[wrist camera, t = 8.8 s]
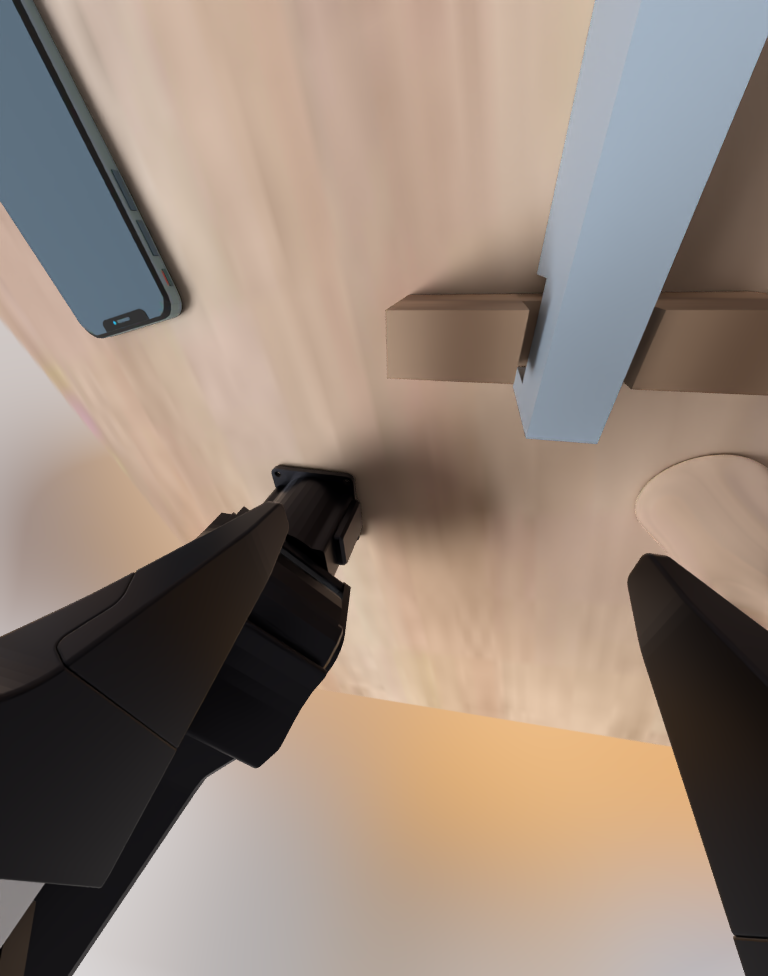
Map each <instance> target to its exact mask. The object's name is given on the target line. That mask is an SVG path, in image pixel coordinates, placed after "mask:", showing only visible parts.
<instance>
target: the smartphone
mask: <svg viewBox="0 0 768 976" xmlns="http://www.w3.org/2000/svg"><path fill="white" fill-rule="evenodd" d="M0 202H1V203H2V205H3V206H4V208H5V209H6V211H7V212H8V214H9V215H10V217H11V218H12V220H13V221H14V223H15V225H16V226H17V228H18V229H19V231H20V232H21V234H22V235H23V237H24V238H25V240H26V241H27V243H28V244H29V246H30V248H31V249H32V251H33V252H34V254H35V255H36V257H37V258H38V260H39V261H40V263H41V264H42V266H43V267H44V269H45V271H46V272H47V274H48V275H49V277H50V278H51V280H52V281H53V283H54V284H55V286H56V287H57V289H58V290H59V292H60V294H61V295H62V297H63V298H64V300H65V301H66V303H67V304H68V306H69V307H70V309H71V310H72V312H73V314H74V315H75V317H76V318H77V320H78V321H79V323H80V324H81V325H82V326H83V327H84V328H85V329H86V330H87V331H88V332H89V333H90V334H91V335H93V336H95V337H97V338H106V337H112V336H116V335H119V334H122V333H125V332H129V331H132V330H135V329H139V328H142V327H145V326H148V325H152V324H155V323H158V322H162V321H165V320H168V319H171V318H175V317H177V316H178V315H179V314H180V313H181V309H182V302H181V299H180V296H179V293H178V291H177V289H176V287H175V285H174V283H173V281H172V279H171V277H170V275H169V273H168V271H167V269H166V266H165V264H164V262H163V260H162V258H161V256H160V254H159V252H158V250H157V248H156V246H155V244H154V242H153V240H152V238H151V236H150V233H149V231H148V229H147V227H146V225H145V223H144V221H143V219H142V217H141V215H140V213H139V211H138V209H137V207H136V205H135V202H134V200H133V198H132V196H131V194H130V192H129V190H128V188H127V186H126V184H125V182H124V180H123V178H122V176H121V174H120V172H119V170H118V168H117V166H116V164H115V162H114V160H113V158H112V156H111V154H110V152H109V150H108V148H107V146H106V144H105V142H104V140H103V138H102V137H101V135H100V133H99V131H98V129H97V127H96V125H95V123H94V121H93V119H92V117H91V115H90V113H89V111H88V109H87V107H86V105H85V103H84V101H83V99H82V97H81V95H80V93H79V91H78V89H77V87H76V85H75V83H74V81H73V79H72V77H71V75H70V73H69V71H68V69H67V67H66V65H65V63H64V61H63V59H62V57H61V55H60V53H59V51H58V49H57V47H56V45H55V43H54V41H53V39H52V37H51V35H50V33H49V32H48V30H47V28H46V26H45V24H44V22H43V20H42V18H41V16H40V14H39V12H38V10H37V8H36V6H35V4H34V2H33V0H0Z"/></svg>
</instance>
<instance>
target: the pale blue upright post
mask: <svg viewBox="0 0 768 976" xmlns="http://www.w3.org/2000/svg"><path fill="white" fill-rule="evenodd" d="M767 36H768V0H595V4H594V8H593V13H592V18H591V22H590V27H589V32H588V37H587V41H586V46H585V51H584V55H583V60H582V65H581V69H580V74H579V79H578V83H577V88H576V93H575V98H574V102H573V107H572V112H571V116H570V121H569V126H568V130H567V135H566V140H565V144H564V149H563V154H562V159H561V163H560V168H559V173H558V177H557V182H556V187H555V191H554V196H553V201H552V205H551V210H550V215H549V220H548V224H547V229H546V234H545V238H544V243H543V248H542V252H541V257H540V262H539V266H538V271H537V274H538V275H540V276H543V277H545V278H547V279H546V284H545V288H544V292H543V297H542V301H541V305H540V310H539V314H538V318H537V323H536V327H535V331H534V336H533V340H532V344H531V349H530V353H529V357H528V362H527V366H526V367H517V371H516V376H515V381H514V384H513V389H514V393H515V397H516V401H517V405H518V409H519V413H520V417H521V421H522V425H523V429H524V433H525V437H526V438H527V439H540V440H553V441H566V442H578V443H591V444H597V443H598V441H599V438H600V436H601V434H602V431H603V429H604V426H605V424H606V422H607V419H608V417H609V414H610V412H611V410H612V407H613V405H614V402H615V400H616V398H617V395H618V393H619V390H620V388H621V386H622V383H623V381H624V379H625V376H626V374H627V371H628V369H629V367H630V364H631V362H632V359H633V357H634V355H635V352H636V350H637V347H638V345H639V343H640V340H641V338H642V335H643V333H644V331H645V328H646V326H647V323H648V321H649V319H650V316H651V314H652V311H653V309H654V307H655V304H656V302H657V300H658V297H659V295H660V292H661V290H662V288H663V285H664V283H665V280H666V278H667V276H668V273H669V271H670V268H671V266H672V264H673V261H674V259H675V256H676V254H677V252H678V249H679V247H680V244H681V242H682V240H683V237H684V235H685V233H686V230H687V228H688V225H689V223H690V221H691V218H692V216H693V213H694V211H695V209H696V206H697V204H698V201H699V199H700V197H701V194H702V192H703V189H704V187H705V185H706V182H707V180H708V177H709V175H710V173H711V170H712V168H713V165H714V163H715V161H716V158H717V156H718V154H719V151H720V149H721V146H722V144H723V142H724V139H725V137H726V134H727V132H728V130H729V127H730V125H731V122H732V120H733V118H734V115H735V113H736V110H737V108H738V106H739V103H740V101H741V98H742V96H743V94H744V91H745V89H746V87H747V84H748V82H749V79H750V77H751V75H752V72H753V70H754V67H755V65H756V63H757V60H758V58H759V55H760V53H761V51H762V48H763V46H764V43H765V41H766V39H767Z"/></svg>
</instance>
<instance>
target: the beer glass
mask: <svg viewBox="0 0 768 976" xmlns="http://www.w3.org/2000/svg"><path fill="white" fill-rule="evenodd" d="M635 514H636V518H637V520H638V522H639V523H640V525H641V526H642V527H643V528H644V530H645V531H646V532H647V533H648V534H649V535H650V536H651V537H652V538H653V539H654V540H655V541H656V542H657V543H658V544H659V545H660V546H661V547H662V548H663V549H664V551H665V552H666V553H667V555H668V556H669V557H670V558H672V559H673V560H674V561H676V562H677V563H678V564H680V565H681V566H682V567H684V568H685V569H686V570H688V571H689V572H690V573H692V574H693V575H694V576H696V577H697V578H698V579H700V580H701V581H702V582H704V583H705V584H706V585H708V586H709V587H710V588H712V589H713V590H714V591H716V592H717V593H718V594H720V595H721V596H722V597H724V598H725V599H726V600H728V601H729V602H730V603H732V604H733V605H734V606H736V607H737V608H738V609H740V610H741V611H742V612H744V613H745V614H746V615H748V616H749V617H750V618H752V619H753V620H754V621H756V622H757V623H758V624H760V625H761V626H762V627H764V628H765V629H766V630H768V469H767V468H766V467H765V466H764V465H762V464H761V463H759V462H757V461H755V460H753V459H750V458H747V457H743V456H738V455H728V454H719V455H708V456H702V457H697V458H693V459H690V460H687V461H684V462H681V463H678V464H676V465H674V466H672V467H670V468H668V469H666V470H664V471H662V472H661V473H659V474H658V475H656V476H655V477H654V478H652V479H651V480H650V481H649V482H648V483H647V484H646V485H645V486H644V487H643V489H642V490H641V491H640V493H639V495H638V497H637V499H636V503H635Z"/></svg>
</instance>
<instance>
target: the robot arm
mask: <svg viewBox="0 0 768 976" xmlns="http://www.w3.org/2000/svg"><path fill="white" fill-rule="evenodd" d="M271 472H272V477H273V480H274V483H275V487H276V489H275V490H274V491H273V492H272V493H271V495H270V496H269V497H268V498H267V499H266V500H265V502H264V503H263V504H261V505H259V506H258V507H256V508H254V509H252V510H248V509H247V508H246V507H243V508H242V509H241V510H240V511H239V512H238V513H237V514H235V513H234V512H233V513H232V514H226V513H221V514H220V515H219V516H218V517H217V518H216V519H215V520H214V521H213V522H212V523H211V524H210V525H209V526H208V527H207V528H206V529H205V530H204V531H203V532H202V533H201V534H200V535H199V536H198V537H197V538H196V539H195V540H193V541H191V542H190V543H188V544H186V545H184V546H182V547H180V548H178V549H176V550H175V551H172V552H171V553H169V554H167V555H165V556H163V557H161V558H159V559H157V560H155V561H154V562H152V563H150V564H148V565H146V566H144V567H142V568H140V569H138V570H137V571H136V572H135V573H131V574H129V575H127V576H125V577H123V578H121V579H120V580H118V581H116V582H114V583H112V584H110V585H108V586H106V587H104V588H102V589H100V590H98V591H96V592H94V593H92V594H90V595H88V596H86V597H84V598H82V599H80V600H78V601H76V602H74V603H72V604H69V605H68V606H65V607H63V608H61V609H59V610H57V611H55V612H52V613H51V614H48V615H46V616H44V617H42V618H40V619H38V620H36V621H33V622H31V623H29V624H27V625H25V626H23V627H20V628H18V629H16V630H14V631H12V632H10V633H7V634H5V635H3V636H1V637H0V976H72V975H73V974H74V972H75V971H76V969H77V968H78V966H79V965H80V963H81V962H82V960H83V959H84V957H85V956H86V954H87V953H88V951H89V950H90V948H91V947H92V945H93V944H94V943H95V941H96V940H97V938H98V936H99V935H100V934H101V932H102V931H103V929H104V928H105V926H106V925H107V923H108V922H109V920H110V919H111V917H112V916H113V914H114V913H115V911H116V910H117V908H118V907H119V905H120V904H121V902H122V901H123V899H124V898H125V896H126V895H127V894H128V892H129V891H130V889H131V888H132V886H133V885H134V883H135V882H136V880H137V878H138V877H139V876H140V874H141V873H142V871H143V870H144V868H145V867H146V865H147V864H148V862H149V861H150V859H151V858H152V856H153V855H154V853H155V852H156V850H157V849H158V847H159V846H160V844H161V843H162V841H163V840H164V839H165V837H166V836H167V834H168V832H169V831H170V830H171V828H172V827H173V825H174V824H175V822H176V821H177V819H178V818H179V816H180V815H181V813H182V812H183V810H184V809H185V807H186V806H187V804H188V803H189V801H190V800H191V798H192V797H193V795H194V794H195V793H196V791H197V790H198V788H199V787H200V786H201V784H202V783H203V781H204V780H205V779H206V778H207V777H208V776H210V775H211V774H213V773H215V772H216V771H218V770H219V769H221V768H222V767H224V766H226V765H227V764H229V763H231V762H232V761H234V760H236V759H237V760H239V761H241V762H243V763H245V764H247V765H249V766H251V767H253V768H258V767H260V766H261V765H262V764H263V763H265V761H267V760H268V759H269V758H270V757H271V756H272V755H273V754H275V752H277V751H278V750H279V748H280V747H281V745H282V743H283V741H284V739H285V737H286V735H287V734H288V732H289V730H290V728H291V726H292V724H293V722H294V720H295V719H296V717H297V715H298V713H299V711H300V710H301V708H302V706H303V705H304V704H305V702H306V701H307V699H308V698H309V696H310V695H311V693H312V692H313V691H314V689H315V688H316V687H317V686H318V685H319V684H320V683H321V681H322V680H323V679H324V678H325V676H326V674H327V673H328V671H329V670H330V669H331V667H332V666H333V664H334V662H335V661H336V659H337V657H338V655H339V653H340V650H341V648H342V645H343V641H344V636H345V629H346V621H347V613H348V605H349V597H350V589H351V587H350V586H349V585H347V584H346V583H345V582H344V583H342V582H341V581H340V580H338V579H337V578H336V577H334V575H335V573H336V571H337V568H338V566H339V565H345V564H346V563H347V562H348V560H349V557H350V555H351V553H352V550H353V548H354V545H355V543H356V541H357V540H358V539H359V538H360V531H361V529H362V526H363V525H362V515H361V504H360V502H359V500H357V496H356V486H355V479H354V477H353V476H352V475H351V474H348V473H339V472H330V471H321V470H312V469H303V468H293V467H284V466H276V467H274V469H273V470H272V471H271ZM278 472H279V473H280V474H279V473H278ZM345 479H347V480H349V482H347V481H346V480H345ZM627 585H628V591H629V596H630V601H631V606H632V611H633V616H634V621H635V626H636V631H637V636H638V641H639V645H640V649H641V653H642V656H643V659H644V663H645V666H646V669H647V672H648V675H649V678H650V681H651V684H652V687H653V690H654V694H655V697H656V700H657V703H658V706H659V709H660V712H661V715H662V718H663V721H664V724H665V728H666V731H667V734H668V737H669V740H670V743H671V746H672V749H673V752H674V755H675V758H676V762H677V765H678V768H679V770H680V774H681V777H682V780H683V783H684V786H685V789H686V792H687V795H688V799H689V802H690V805H691V808H692V811H693V814H694V817H695V820H696V823H697V826H698V830H699V832H700V835H701V838H702V842H703V845H704V848H705V851H706V854H707V857H708V860H709V863H710V866H711V870H712V872H713V876H714V879H715V882H716V885H717V888H718V891H719V894H720V897H721V901H722V904H723V907H724V910H725V913H726V916H727V919H728V922H729V925H730V928H731V931H732V933H733V934H734V935H735V936H734V937H733V939H734V942H735V945H736V948H737V951H738V954H739V957H740V960H741V963H742V967H743V970H744V972H745V976H768V630H766V629H765V628H764V627H762V626H761V625H760V624H758V623H757V622H756V621H754V620H753V619H752V618H750V617H749V616H748V615H746V614H745V613H744V612H742V611H741V610H740V609H738V608H737V607H736V606H734V605H733V604H732V603H730V602H729V601H728V600H726V599H725V598H724V597H722V596H721V595H720V594H718V593H717V592H716V591H714V590H713V589H712V588H710V587H709V586H708V585H706V584H705V583H704V582H702V581H701V580H700V579H698V578H697V577H696V576H694V575H693V574H692V573H690V572H689V571H688V570H686V569H685V568H684V567H682V566H681V565H680V564H678V563H677V562H676V561H674V560H673V559H672V558H670V557H668V556H665V555H658V554H651V553H647V554H644V555H643V556H642V557H641V558H640V560H639V561H638V563H637V564H636V566H635V567H634V569H633V570H632V572H631V573H630V575H629V577H628V581H627Z"/></svg>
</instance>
